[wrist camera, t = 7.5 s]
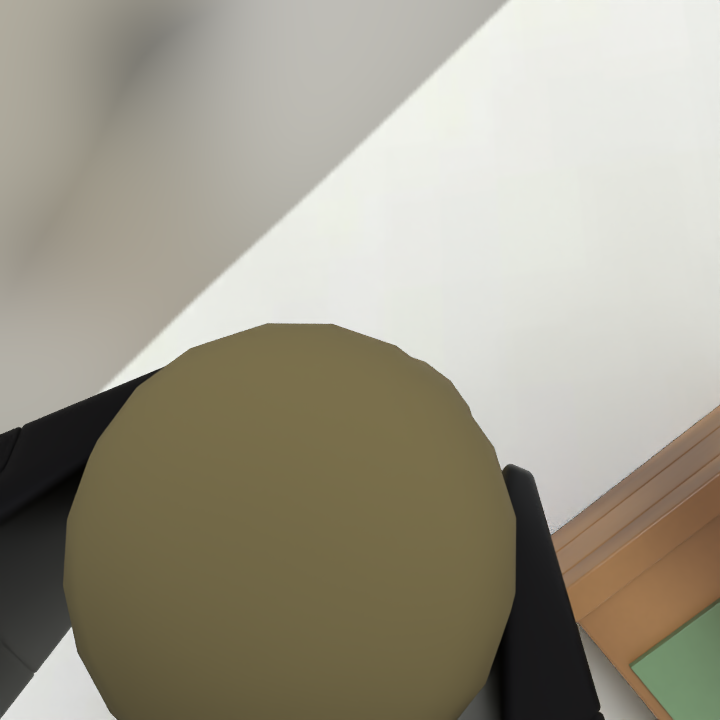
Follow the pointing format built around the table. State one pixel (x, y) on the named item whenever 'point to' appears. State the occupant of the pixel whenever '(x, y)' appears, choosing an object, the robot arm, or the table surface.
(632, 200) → the table surface
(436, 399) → the olive pawn
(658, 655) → the shelf
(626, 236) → the table surface
